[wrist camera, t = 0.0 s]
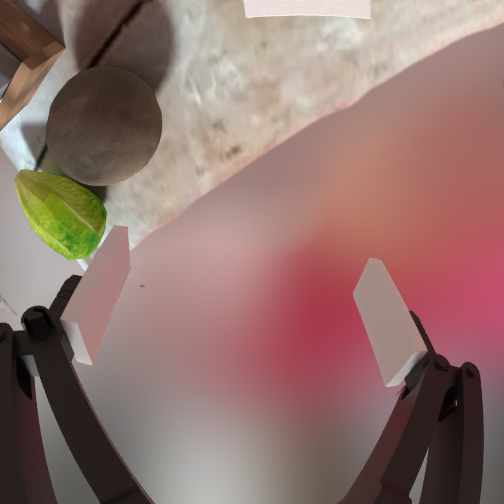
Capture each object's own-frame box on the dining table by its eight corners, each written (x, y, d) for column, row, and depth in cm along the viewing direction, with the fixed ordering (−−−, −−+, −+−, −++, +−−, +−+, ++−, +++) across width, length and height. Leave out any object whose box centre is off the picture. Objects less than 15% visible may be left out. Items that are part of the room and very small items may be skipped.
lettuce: (53, 130, 37) (14, 179, 30) (130, 204, 52) (110, 258, 44) (20, 169, 43) (-11, 216, 36) (89, 228, 57) (70, 277, 50)
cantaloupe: (101, 144, 41) (59, 214, 32) (69, 66, 29) (4, 123, 20) (186, 128, 39) (159, 203, 30) (162, 36, 28) (111, 80, 19)
